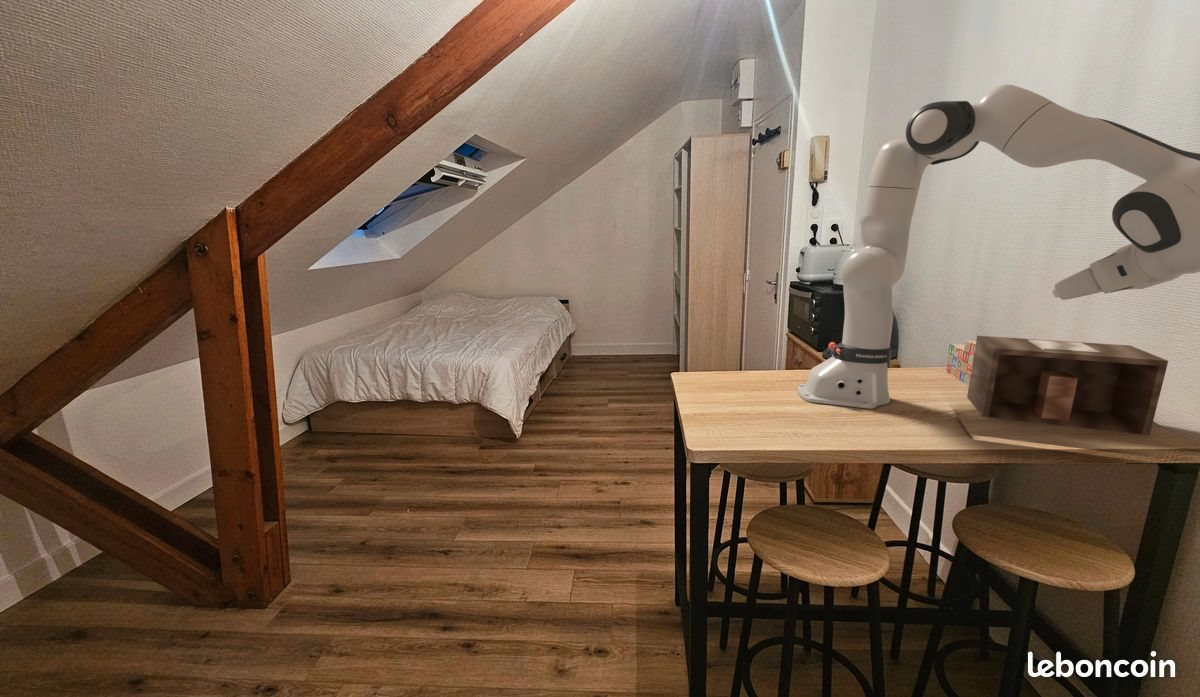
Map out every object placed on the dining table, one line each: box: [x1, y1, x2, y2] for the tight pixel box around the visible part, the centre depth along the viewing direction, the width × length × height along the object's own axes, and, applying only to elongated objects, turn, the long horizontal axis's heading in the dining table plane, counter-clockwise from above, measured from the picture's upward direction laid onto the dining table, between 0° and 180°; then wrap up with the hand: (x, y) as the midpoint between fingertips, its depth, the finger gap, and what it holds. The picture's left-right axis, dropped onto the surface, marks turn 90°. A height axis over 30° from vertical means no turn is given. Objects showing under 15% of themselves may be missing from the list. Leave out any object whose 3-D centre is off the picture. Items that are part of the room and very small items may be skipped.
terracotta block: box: [1034, 371, 1078, 421], centre depth 121 cm, size 5×5×10 cm
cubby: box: [966, 335, 1169, 436], centre depth 121 cm, size 29×15×18 cm, turn 67°
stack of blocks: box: [945, 339, 976, 387], centre depth 150 cm, size 21×6×12 cm, turn 169°
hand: (1075, 287), depth 114 cm, fingers open, 8 cm apart
